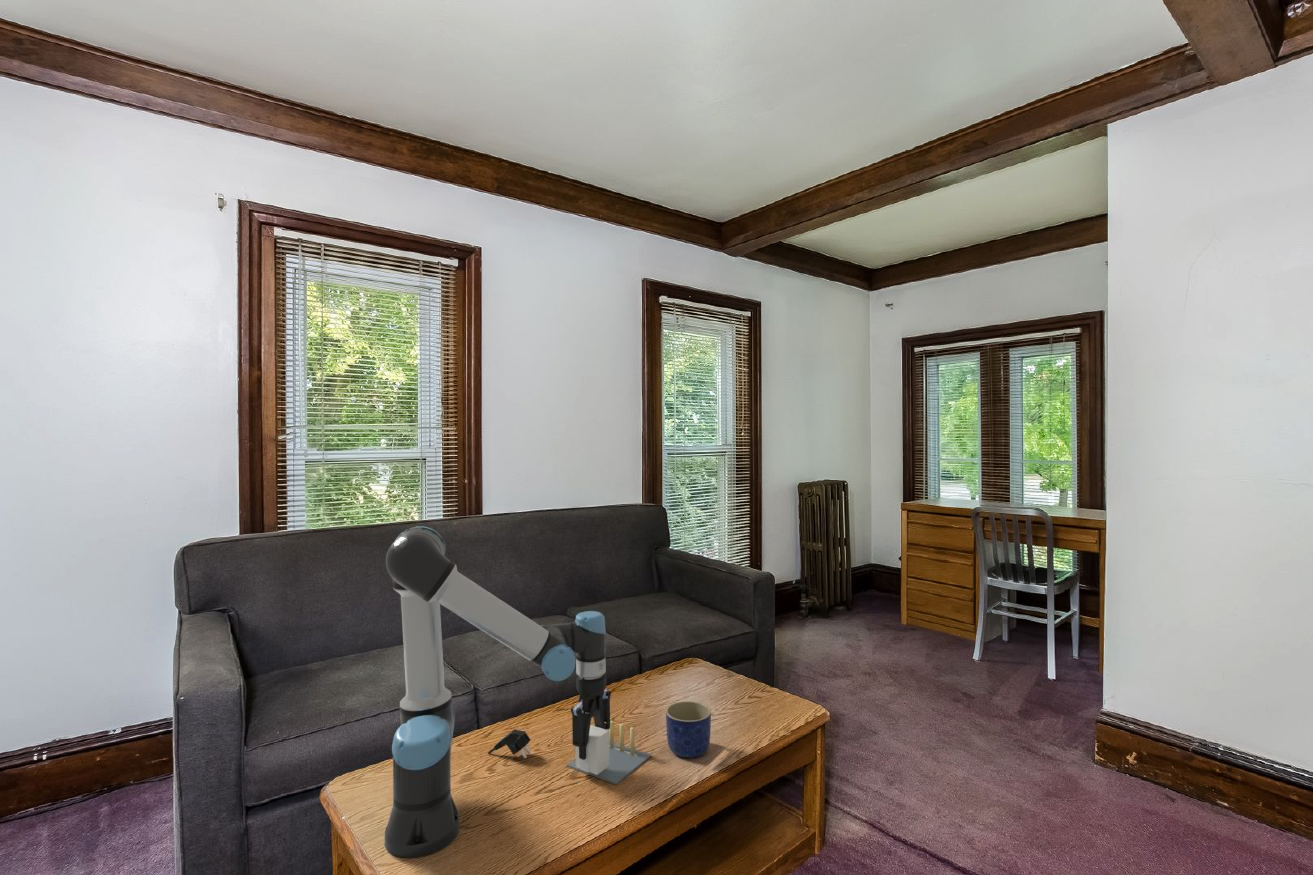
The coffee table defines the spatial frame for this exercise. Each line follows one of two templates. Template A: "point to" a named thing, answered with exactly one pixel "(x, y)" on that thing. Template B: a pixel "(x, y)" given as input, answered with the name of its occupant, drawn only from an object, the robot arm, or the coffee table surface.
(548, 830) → the coffee table surface
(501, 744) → the power plug
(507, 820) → the coffee table surface
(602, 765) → the block
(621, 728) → the board
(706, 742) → the planter
